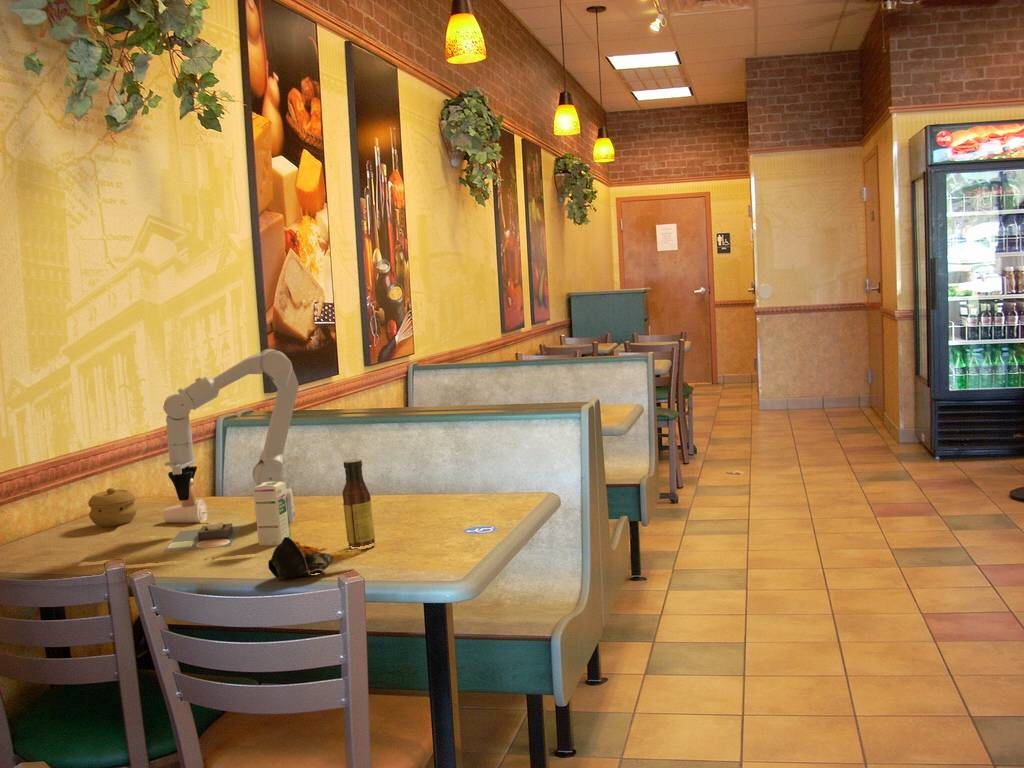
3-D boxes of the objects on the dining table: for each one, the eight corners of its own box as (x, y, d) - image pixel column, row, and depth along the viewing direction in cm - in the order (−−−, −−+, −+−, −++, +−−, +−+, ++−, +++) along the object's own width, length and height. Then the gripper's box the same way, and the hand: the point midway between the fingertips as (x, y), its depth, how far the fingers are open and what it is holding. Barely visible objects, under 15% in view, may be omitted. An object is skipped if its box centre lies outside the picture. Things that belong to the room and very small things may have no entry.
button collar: (232, 531, 259) (232, 523, 259) (228, 538, 252) (227, 530, 252) (203, 533, 258) (202, 525, 258) (198, 540, 251) (197, 532, 251)
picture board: (242, 528, 265) (242, 525, 265) (230, 549, 245) (230, 545, 244) (180, 534, 263) (180, 530, 263) (163, 555, 243) (163, 551, 243)
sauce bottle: (380, 544, 241) (374, 457, 239) (368, 551, 235) (361, 462, 233) (354, 543, 244) (348, 457, 241) (341, 550, 238) (334, 462, 236)
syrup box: (282, 548, 243) (276, 485, 241) (257, 548, 244) (252, 486, 242) (291, 541, 248) (286, 480, 247) (268, 542, 250) (262, 481, 248)
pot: (80, 530, 274) (76, 492, 273) (109, 520, 285) (105, 483, 284) (119, 531, 270) (116, 492, 269) (147, 520, 282) (143, 483, 281)
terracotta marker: (197, 503, 262) (194, 477, 261) (194, 506, 258) (191, 480, 257) (182, 504, 261) (179, 478, 261) (179, 507, 258) (177, 481, 257)
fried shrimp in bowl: (256, 555, 220) (328, 513, 229) (283, 601, 219) (355, 557, 228) (266, 547, 212) (340, 503, 221) (294, 595, 211) (368, 549, 221)
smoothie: (158, 514, 269) (211, 508, 268) (166, 497, 275) (217, 492, 273) (167, 533, 273) (219, 527, 271) (174, 516, 278) (225, 510, 276)
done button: (224, 528, 257) (223, 521, 257) (222, 532, 254) (221, 524, 253) (209, 530, 257) (208, 522, 257) (206, 533, 253) (205, 526, 253)
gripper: (169, 440, 265) (174, 493, 266) (156, 449, 250) (162, 506, 252) (198, 438, 266) (203, 491, 267) (187, 447, 251) (192, 503, 253)
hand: (185, 498), depth 259 cm, fingers closed on terracotta marker, 3 cm apart
